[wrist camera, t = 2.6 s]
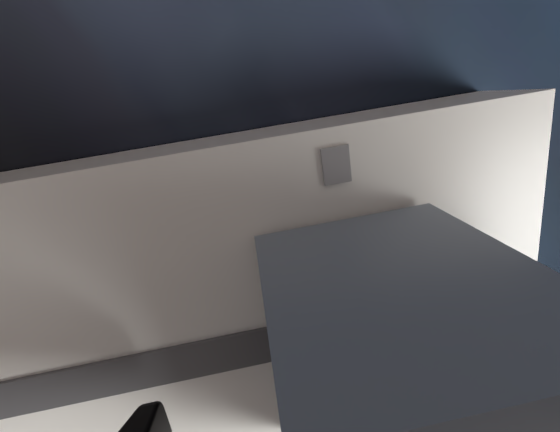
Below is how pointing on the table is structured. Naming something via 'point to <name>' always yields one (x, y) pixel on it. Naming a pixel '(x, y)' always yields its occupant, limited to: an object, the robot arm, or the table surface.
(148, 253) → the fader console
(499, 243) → the fader tab
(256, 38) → the table surface
